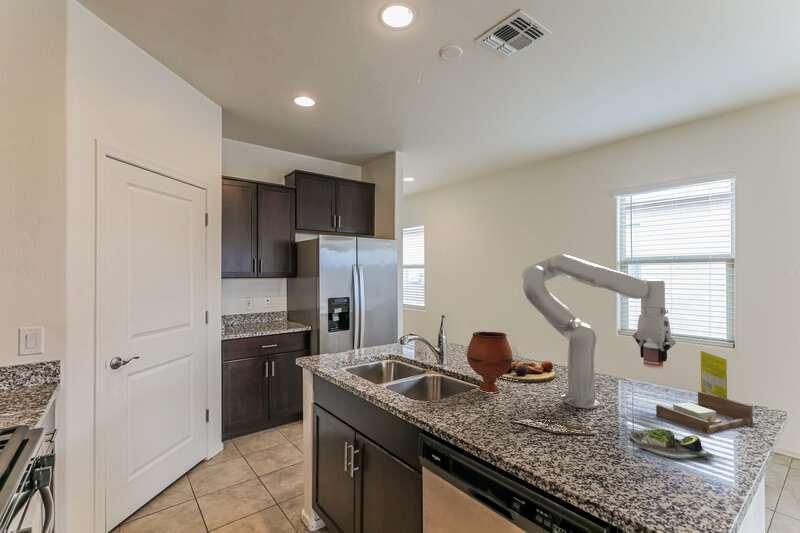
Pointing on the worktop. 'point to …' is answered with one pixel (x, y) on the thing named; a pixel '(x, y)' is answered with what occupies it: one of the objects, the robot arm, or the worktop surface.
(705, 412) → the sage painted offcut
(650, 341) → the pill bottle
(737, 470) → the worktop surface
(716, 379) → the food package
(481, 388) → the goblet
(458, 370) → the worktop surface
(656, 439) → the salad plate
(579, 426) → the wooden fragment
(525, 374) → the wooden plate with food
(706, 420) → the ash offcut
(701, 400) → the walnut rack
